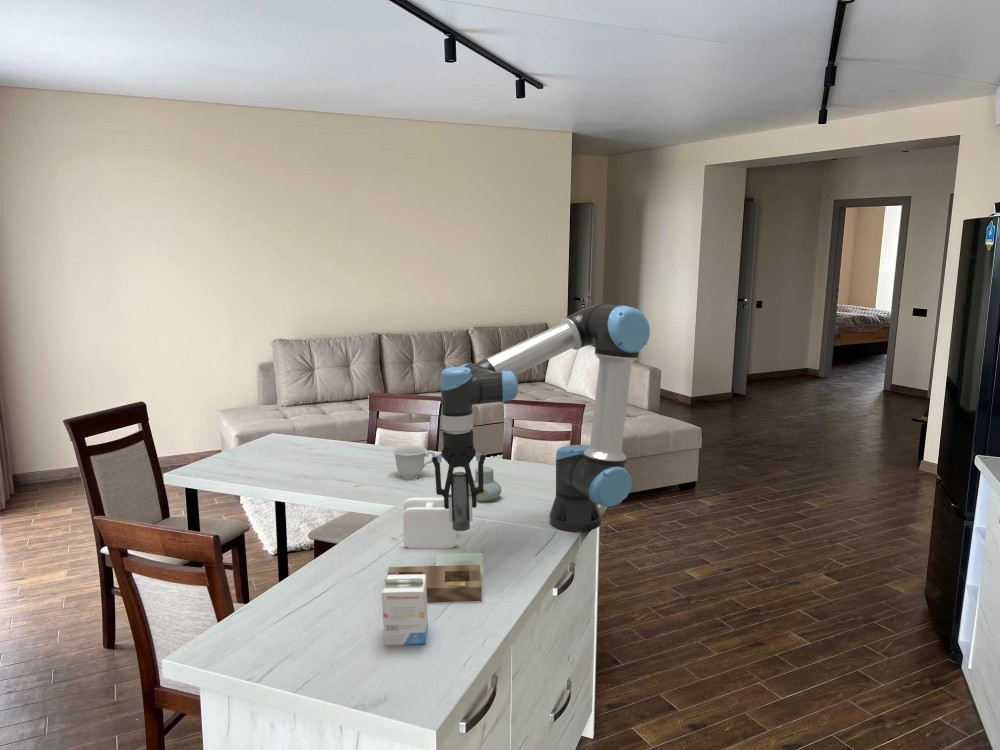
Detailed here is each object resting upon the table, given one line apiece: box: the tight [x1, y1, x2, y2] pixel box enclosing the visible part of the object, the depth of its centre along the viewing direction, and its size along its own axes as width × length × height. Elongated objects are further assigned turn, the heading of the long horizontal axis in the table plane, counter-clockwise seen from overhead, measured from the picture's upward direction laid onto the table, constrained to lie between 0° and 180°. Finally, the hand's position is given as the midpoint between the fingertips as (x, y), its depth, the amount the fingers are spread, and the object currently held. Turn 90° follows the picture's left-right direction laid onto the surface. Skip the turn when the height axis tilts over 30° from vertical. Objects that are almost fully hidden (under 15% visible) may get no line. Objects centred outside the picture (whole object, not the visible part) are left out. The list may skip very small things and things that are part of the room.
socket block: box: [386, 565, 482, 604], centre depth 173 cm, size 22×12×4 cm, turn 93°
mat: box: [435, 552, 485, 574], centre depth 187 cm, size 12×12×1 cm
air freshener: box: [469, 465, 502, 502], centre depth 237 cm, size 11×8×10 cm
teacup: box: [392, 445, 436, 481], centre depth 259 cm, size 12×15×10 cm
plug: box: [450, 471, 471, 532], centre depth 185 cm, size 4×4×14 cm
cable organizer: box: [402, 497, 459, 549], centre depth 201 cm, size 15×11×12 cm
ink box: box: [381, 574, 429, 646], centre depth 152 cm, size 9×8×13 cm
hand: (461, 519), depth 185 cm, fingers closed on plug, 4 cm apart
